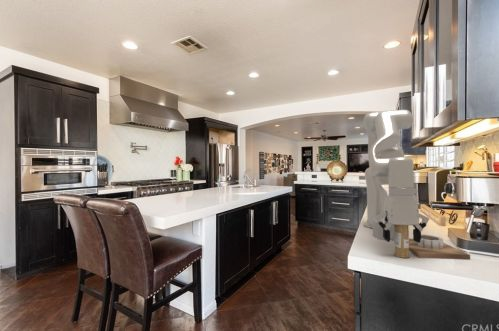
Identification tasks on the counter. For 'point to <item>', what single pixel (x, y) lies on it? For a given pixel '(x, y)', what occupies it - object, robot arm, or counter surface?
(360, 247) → the counter surface
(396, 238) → the sprinkles bottle
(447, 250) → the walnut board
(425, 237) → the socket ring
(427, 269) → the counter surface
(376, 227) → the lumpy-topped squat cylinder
